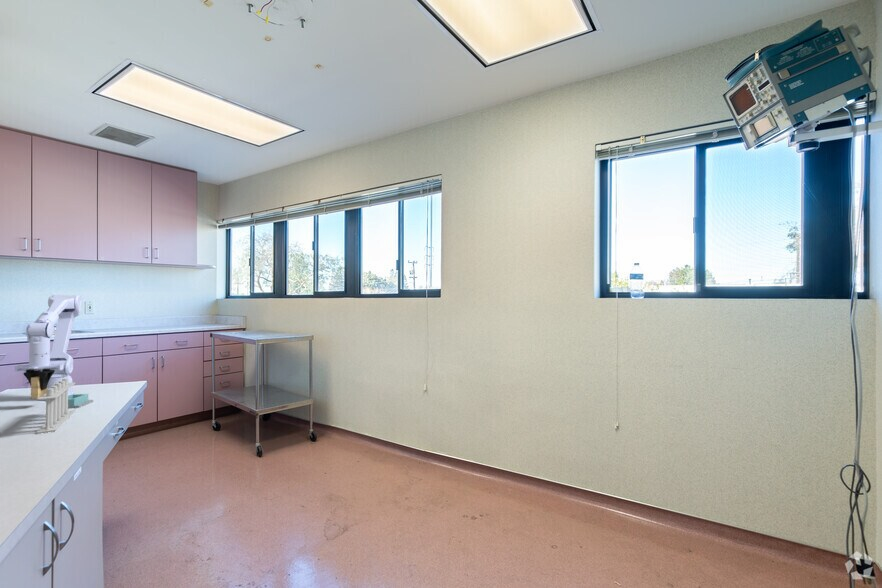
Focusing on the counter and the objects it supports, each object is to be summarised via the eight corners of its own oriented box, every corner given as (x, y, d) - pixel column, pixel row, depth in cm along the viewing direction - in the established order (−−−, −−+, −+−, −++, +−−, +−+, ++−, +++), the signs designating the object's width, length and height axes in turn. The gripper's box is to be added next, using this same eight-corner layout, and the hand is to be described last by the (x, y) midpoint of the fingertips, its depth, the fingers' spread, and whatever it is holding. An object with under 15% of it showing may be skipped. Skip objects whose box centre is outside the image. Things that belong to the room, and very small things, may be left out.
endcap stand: (66, 402, 161) (66, 394, 161) (93, 401, 163) (93, 393, 163) (50, 409, 152) (50, 400, 152) (78, 407, 154) (78, 399, 154)
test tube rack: (55, 432, 128) (56, 390, 128) (36, 434, 125) (36, 392, 125) (75, 412, 149) (75, 376, 149) (59, 414, 147) (59, 377, 147)
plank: (40, 395, 158) (40, 375, 157) (47, 395, 158) (47, 374, 158) (30, 398, 153) (31, 377, 153) (37, 398, 153) (37, 377, 153)
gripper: (8, 355, 150) (7, 392, 150) (54, 355, 153) (54, 390, 153) (23, 353, 157) (22, 388, 157) (67, 352, 160) (66, 386, 160)
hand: (39, 389), depth 155 cm, fingers closed on plank, 2 cm apart
